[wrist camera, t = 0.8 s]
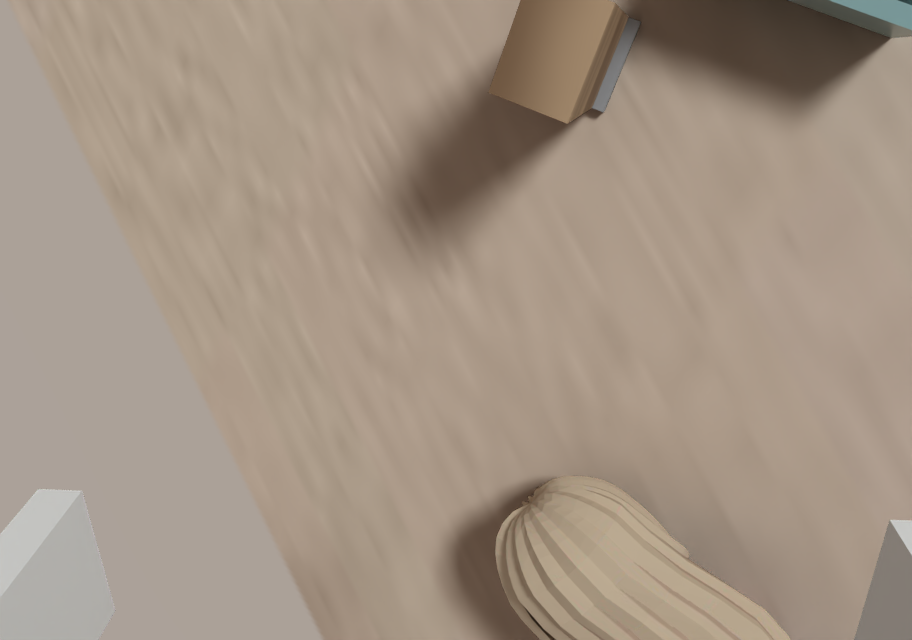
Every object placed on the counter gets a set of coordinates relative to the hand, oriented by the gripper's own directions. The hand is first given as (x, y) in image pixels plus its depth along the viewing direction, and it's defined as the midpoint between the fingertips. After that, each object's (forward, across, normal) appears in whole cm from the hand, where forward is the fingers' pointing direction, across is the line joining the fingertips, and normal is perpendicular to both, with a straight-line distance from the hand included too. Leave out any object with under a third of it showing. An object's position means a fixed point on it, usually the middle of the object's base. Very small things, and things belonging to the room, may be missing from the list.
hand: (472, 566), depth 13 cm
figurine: (+25, -13, +29) cm, 40 cm away
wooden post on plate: (+31, -4, -4) cm, 31 cm away
